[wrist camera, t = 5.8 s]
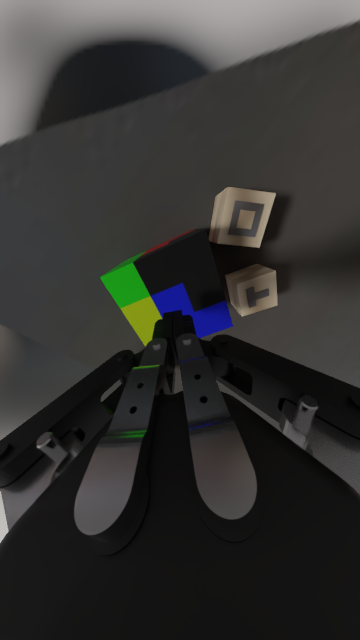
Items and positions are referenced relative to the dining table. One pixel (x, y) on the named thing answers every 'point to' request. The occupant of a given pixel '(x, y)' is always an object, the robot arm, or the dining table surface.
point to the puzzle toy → (171, 286)
